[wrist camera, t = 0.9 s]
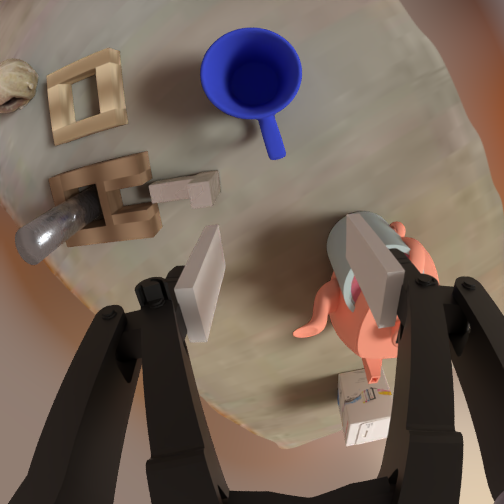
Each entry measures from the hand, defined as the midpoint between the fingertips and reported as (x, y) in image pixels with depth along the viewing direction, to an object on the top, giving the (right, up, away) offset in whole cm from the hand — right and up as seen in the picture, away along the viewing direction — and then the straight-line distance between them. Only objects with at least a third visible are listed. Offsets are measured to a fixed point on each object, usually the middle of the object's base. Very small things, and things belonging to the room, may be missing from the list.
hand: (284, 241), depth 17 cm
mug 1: (-1, +16, +13) cm, 21 cm away
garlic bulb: (-35, +24, +12) cm, 44 cm away
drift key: (-10, +8, +18) cm, 22 cm away
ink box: (+18, -25, +33) cm, 45 cm away
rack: (-22, +19, +13) cm, 32 cm away
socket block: (-21, +7, +19) cm, 29 cm away
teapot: (+14, -4, +23) cm, 27 cm away
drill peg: (-23, +6, +19) cm, 31 cm away
